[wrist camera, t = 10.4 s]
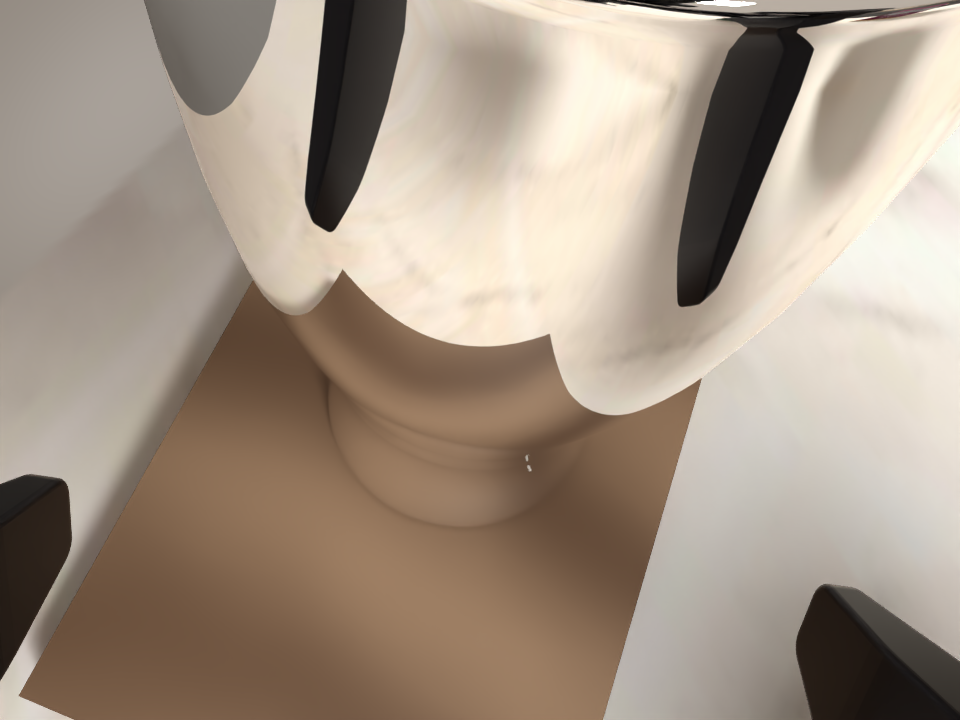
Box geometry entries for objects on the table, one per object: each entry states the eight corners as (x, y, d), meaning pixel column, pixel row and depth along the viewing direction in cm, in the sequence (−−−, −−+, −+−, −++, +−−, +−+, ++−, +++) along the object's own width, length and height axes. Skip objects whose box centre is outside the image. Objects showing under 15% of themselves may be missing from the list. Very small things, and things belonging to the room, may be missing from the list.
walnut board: (534, 901, 16) (544, 921, 15) (44, 692, 16) (19, 695, 15) (715, 291, 21) (732, 270, 20) (345, 148, 22) (342, 121, 21)
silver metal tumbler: (256, 479, 17) (-415, -328, 3) (381, 226, 20) (330, -848, 6) (552, 597, 17) (1325, 306, 3) (641, 325, 19) (1275, -549, 5)
